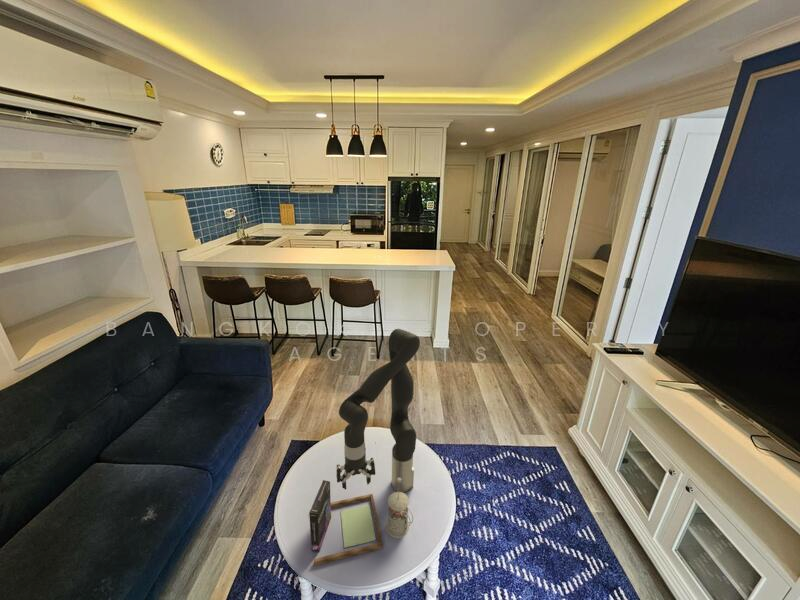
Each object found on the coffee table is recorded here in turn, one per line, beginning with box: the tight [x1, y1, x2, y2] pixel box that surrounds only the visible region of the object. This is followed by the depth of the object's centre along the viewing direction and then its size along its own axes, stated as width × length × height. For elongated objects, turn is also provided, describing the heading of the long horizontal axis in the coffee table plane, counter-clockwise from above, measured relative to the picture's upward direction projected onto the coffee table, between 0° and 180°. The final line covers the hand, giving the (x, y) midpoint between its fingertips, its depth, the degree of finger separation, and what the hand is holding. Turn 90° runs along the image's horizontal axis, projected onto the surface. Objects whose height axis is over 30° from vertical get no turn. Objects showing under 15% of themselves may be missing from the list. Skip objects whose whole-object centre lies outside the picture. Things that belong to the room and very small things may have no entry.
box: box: [308, 479, 332, 553], centre depth 124 cm, size 14×4×20 cm, turn 173°
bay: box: [313, 493, 384, 567], centre depth 129 cm, size 25×22×2 cm
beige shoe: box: [385, 478, 414, 539], centre depth 125 cm, size 10×12×25 cm
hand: (356, 485), depth 123 cm, fingers open, 8 cm apart
